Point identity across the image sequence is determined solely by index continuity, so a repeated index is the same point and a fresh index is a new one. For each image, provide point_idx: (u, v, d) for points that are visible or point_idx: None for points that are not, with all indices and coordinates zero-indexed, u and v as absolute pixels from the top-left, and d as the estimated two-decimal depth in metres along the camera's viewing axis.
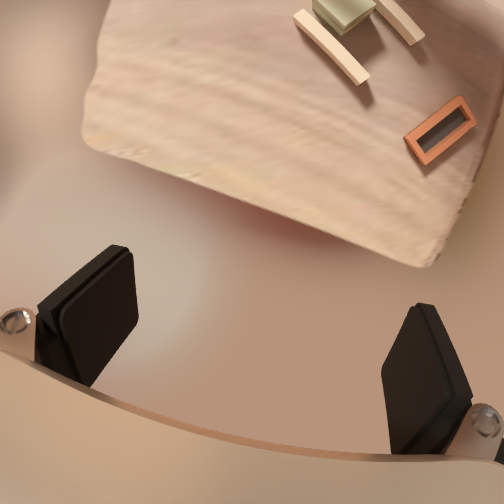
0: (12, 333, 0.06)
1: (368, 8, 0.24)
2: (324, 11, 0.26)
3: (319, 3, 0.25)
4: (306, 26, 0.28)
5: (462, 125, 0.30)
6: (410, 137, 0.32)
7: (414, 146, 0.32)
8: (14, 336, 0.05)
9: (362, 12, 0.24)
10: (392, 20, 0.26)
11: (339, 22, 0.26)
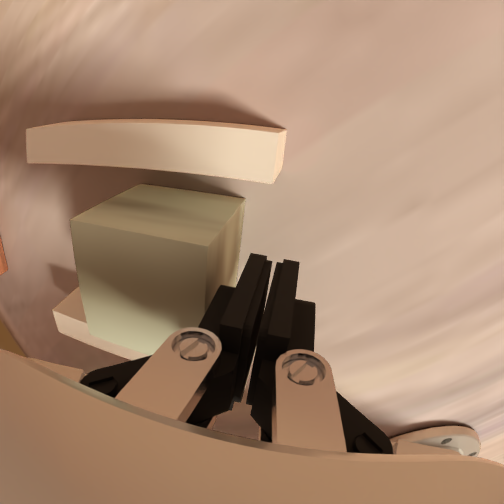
0: (183, 355, 0.06)
1: (87, 312, 0.11)
2: (167, 217, 0.10)
3: (175, 234, 0.09)
4: (213, 131, 0.09)
5: None
6: None
7: None
8: (182, 361, 0.06)
9: (83, 291, 0.10)
10: None
11: (96, 217, 0.10)
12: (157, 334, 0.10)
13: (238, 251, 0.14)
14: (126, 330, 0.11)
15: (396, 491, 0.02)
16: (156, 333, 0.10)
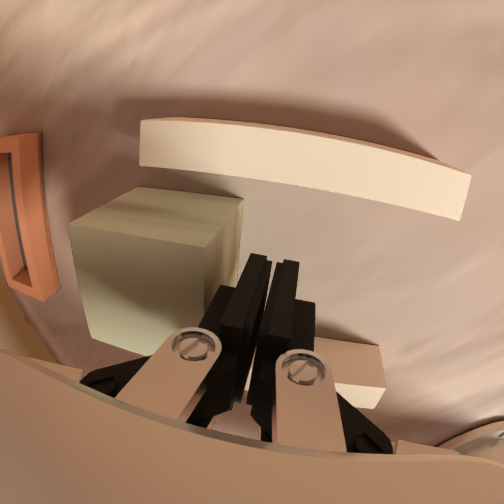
0: (183, 355, 0.06)
1: (87, 315, 0.11)
2: (165, 219, 0.10)
3: (172, 236, 0.09)
4: (418, 164, 0.08)
5: (13, 257, 0.16)
6: (18, 145, 0.12)
7: (6, 141, 0.12)
8: (183, 361, 0.06)
9: (83, 295, 0.10)
10: None
11: (94, 220, 0.10)
12: (157, 336, 0.10)
13: (237, 251, 0.14)
14: (127, 332, 0.11)
15: (396, 491, 0.02)
16: (157, 335, 0.10)
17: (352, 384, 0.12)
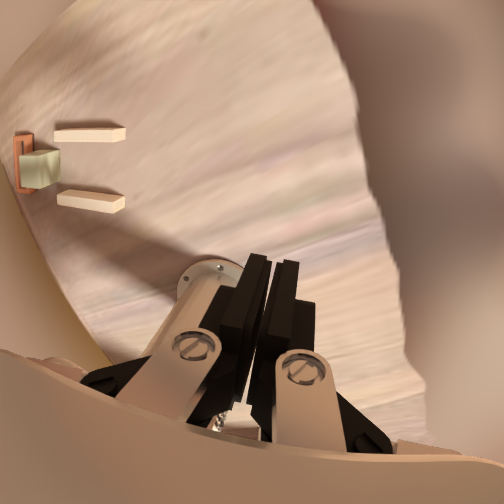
0: (183, 355, 0.06)
1: (21, 179, 0.37)
2: (37, 153, 0.37)
3: (35, 155, 0.36)
4: (100, 131, 0.34)
5: (20, 180, 0.42)
6: (26, 138, 0.38)
7: (21, 137, 0.38)
8: (182, 361, 0.06)
9: (20, 173, 0.37)
10: (80, 193, 0.40)
11: (24, 155, 0.36)
12: (32, 180, 0.37)
13: (59, 164, 0.40)
14: (27, 181, 0.37)
15: (396, 491, 0.02)
16: (32, 179, 0.37)
17: (103, 201, 0.38)
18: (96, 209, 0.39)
